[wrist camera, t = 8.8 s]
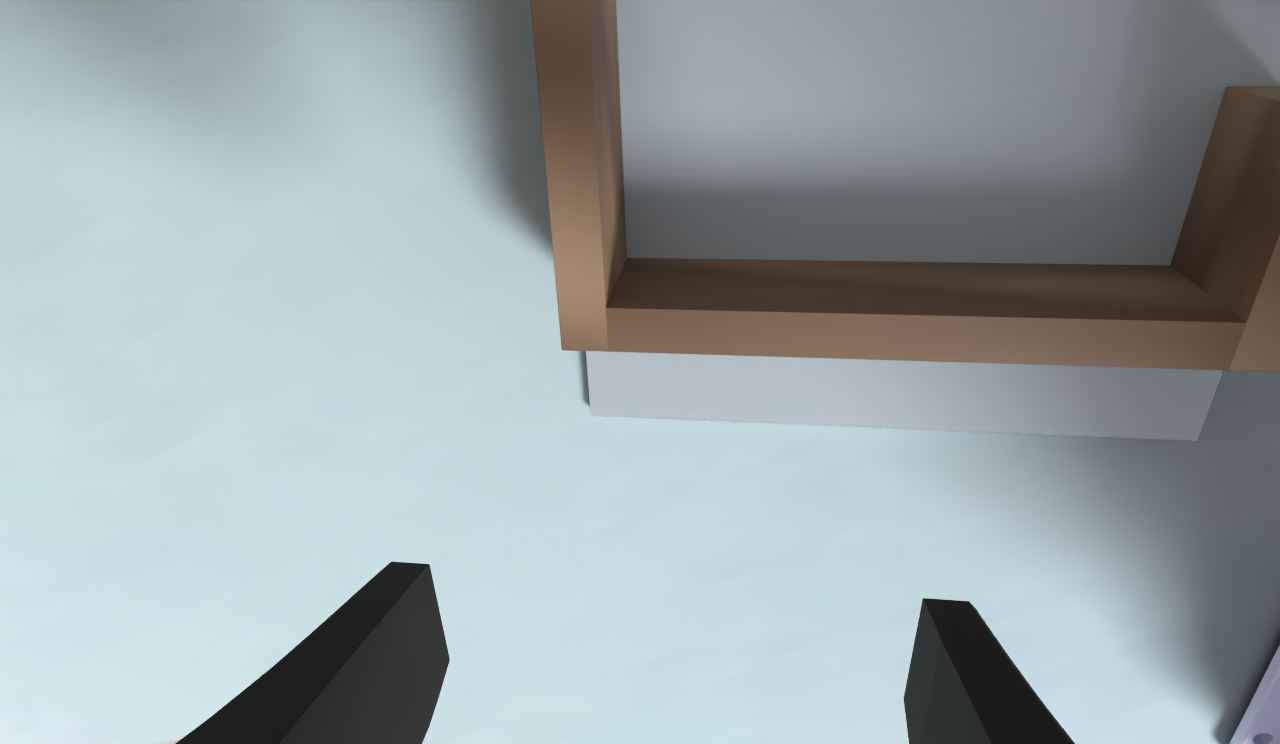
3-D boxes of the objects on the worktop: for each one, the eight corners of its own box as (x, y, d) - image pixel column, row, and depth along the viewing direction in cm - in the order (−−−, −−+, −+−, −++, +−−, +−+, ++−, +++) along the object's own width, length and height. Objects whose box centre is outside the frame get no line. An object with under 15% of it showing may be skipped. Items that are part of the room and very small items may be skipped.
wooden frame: (1205, 308, 17) (1286, 372, 15) (588, 295, 19) (561, 350, 16) (1429, -344, 12) (1618, -427, 9) (549, -275, 14) (501, -329, 11)
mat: (1191, 434, 19) (1197, 441, 19) (592, 409, 21) (590, 415, 21) (1599, -684, 10) (1620, -701, 10) (524, -548, 12) (519, -559, 12)
